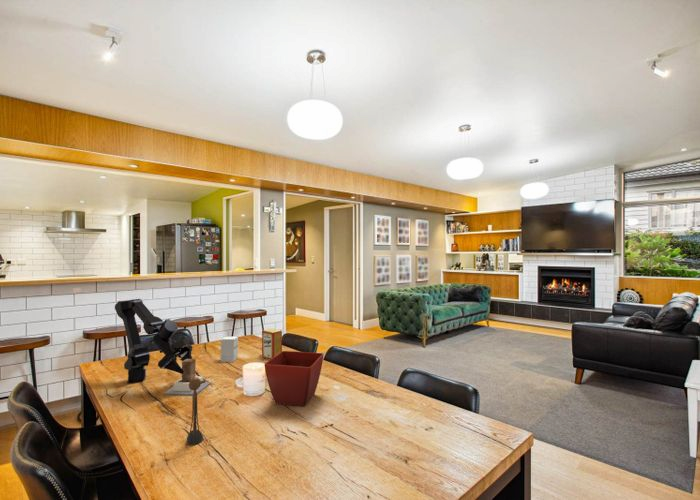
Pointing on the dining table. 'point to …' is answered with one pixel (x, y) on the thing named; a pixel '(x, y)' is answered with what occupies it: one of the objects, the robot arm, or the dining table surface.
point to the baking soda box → (271, 343)
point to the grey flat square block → (185, 388)
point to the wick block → (188, 370)
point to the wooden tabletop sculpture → (195, 434)
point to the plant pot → (293, 376)
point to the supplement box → (229, 349)
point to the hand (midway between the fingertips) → (188, 369)
